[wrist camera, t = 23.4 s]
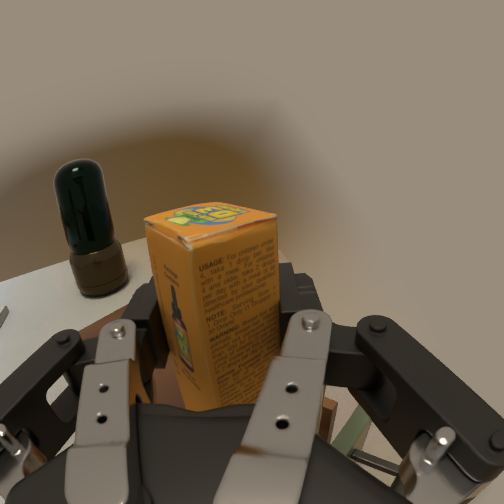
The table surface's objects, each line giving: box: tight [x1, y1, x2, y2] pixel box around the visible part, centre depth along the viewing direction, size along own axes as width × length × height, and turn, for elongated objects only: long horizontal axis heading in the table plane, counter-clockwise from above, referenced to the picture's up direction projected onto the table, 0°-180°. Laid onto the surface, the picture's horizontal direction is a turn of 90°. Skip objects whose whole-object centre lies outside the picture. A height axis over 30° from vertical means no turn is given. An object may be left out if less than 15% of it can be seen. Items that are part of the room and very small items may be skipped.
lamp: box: [53, 159, 128, 296], centre depth 47 cm, size 10×10×22 cm
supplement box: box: [144, 202, 281, 412], centre depth 11 cm, size 3×3×10 cm
